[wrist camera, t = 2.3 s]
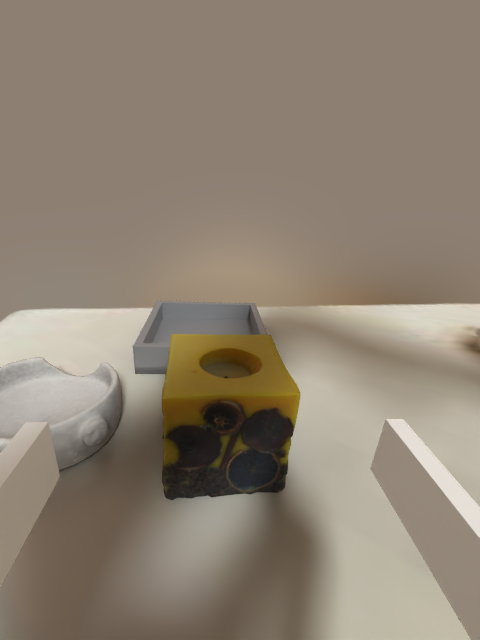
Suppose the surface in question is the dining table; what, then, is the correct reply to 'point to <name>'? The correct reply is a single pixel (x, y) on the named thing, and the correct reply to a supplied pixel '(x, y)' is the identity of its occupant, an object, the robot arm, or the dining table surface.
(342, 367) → the dining table surface
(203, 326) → the tray
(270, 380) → the candle
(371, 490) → the dining table surface
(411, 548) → the dining table surface
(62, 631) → the dining table surface
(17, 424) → the dish
